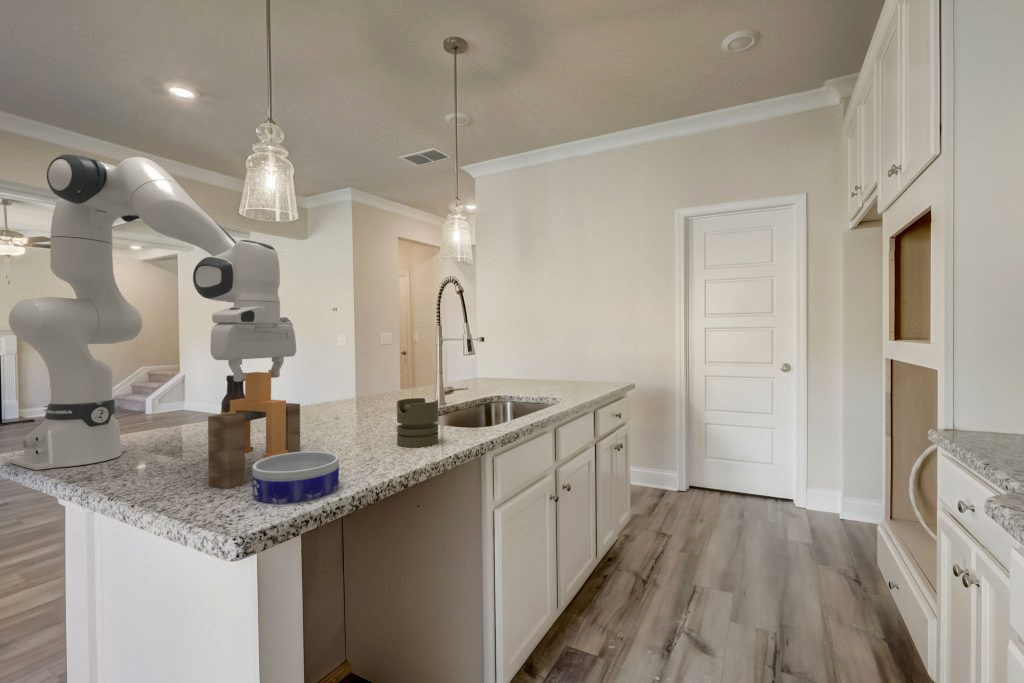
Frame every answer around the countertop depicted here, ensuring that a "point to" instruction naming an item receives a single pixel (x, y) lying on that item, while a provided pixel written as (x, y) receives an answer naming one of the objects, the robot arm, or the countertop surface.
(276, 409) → the orange stepped block
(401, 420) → the piston
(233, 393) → the sauce bottle
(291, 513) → the countertop surface
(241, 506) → the countertop surface
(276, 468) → the dog bowl
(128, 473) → the countertop surface
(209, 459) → the crossbar stand
